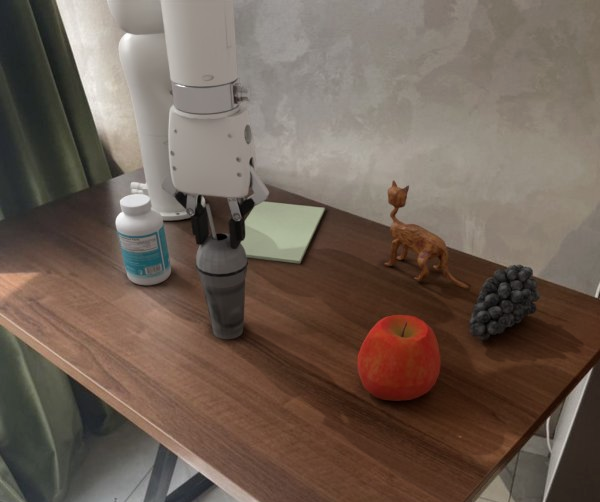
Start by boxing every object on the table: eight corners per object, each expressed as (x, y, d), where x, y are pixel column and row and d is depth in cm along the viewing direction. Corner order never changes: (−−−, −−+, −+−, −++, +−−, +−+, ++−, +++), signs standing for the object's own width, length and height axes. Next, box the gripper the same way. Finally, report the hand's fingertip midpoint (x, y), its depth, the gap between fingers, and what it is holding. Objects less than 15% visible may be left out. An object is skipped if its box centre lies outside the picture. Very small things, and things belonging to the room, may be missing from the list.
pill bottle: (146, 261, 106) (132, 186, 97) (180, 271, 104) (169, 195, 95) (118, 280, 102) (100, 203, 92) (153, 291, 99) (138, 214, 90)
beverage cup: (250, 345, 88) (242, 217, 75) (200, 344, 88) (183, 216, 75) (254, 317, 94) (247, 192, 80) (207, 316, 94) (192, 191, 80)
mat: (224, 254, 108) (223, 251, 108) (258, 203, 124) (258, 200, 124) (299, 263, 106) (299, 260, 106) (324, 210, 122) (324, 207, 121)
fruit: (495, 300, 81) (547, 257, 89) (443, 295, 87) (495, 255, 95) (501, 356, 85) (549, 310, 93) (450, 348, 91) (500, 305, 99)
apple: (382, 423, 76) (391, 358, 69) (339, 375, 83) (343, 310, 76) (451, 397, 80) (466, 332, 73) (404, 353, 87) (413, 289, 80)
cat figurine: (478, 287, 101) (496, 208, 91) (456, 302, 97) (473, 222, 88) (392, 250, 110) (401, 175, 101) (369, 263, 106) (376, 187, 97)
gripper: (285, 91, 70) (286, 236, 83) (151, 82, 73) (172, 223, 85) (268, 111, 65) (272, 263, 77) (124, 100, 68) (150, 248, 80)
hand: (219, 240), depth 81 cm, fingers closed on beverage cup, 4 cm apart
